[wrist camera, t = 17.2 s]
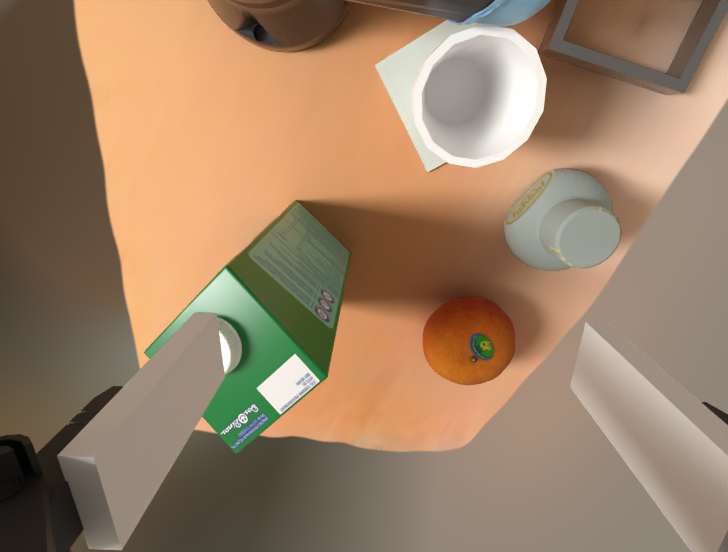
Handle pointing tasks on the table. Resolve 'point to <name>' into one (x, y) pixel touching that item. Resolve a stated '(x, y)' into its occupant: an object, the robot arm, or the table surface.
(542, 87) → the foam cup
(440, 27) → the pad
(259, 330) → the milk carton
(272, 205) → the table surface
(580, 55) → the grey square frame
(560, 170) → the air freshener
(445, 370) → the fruit
